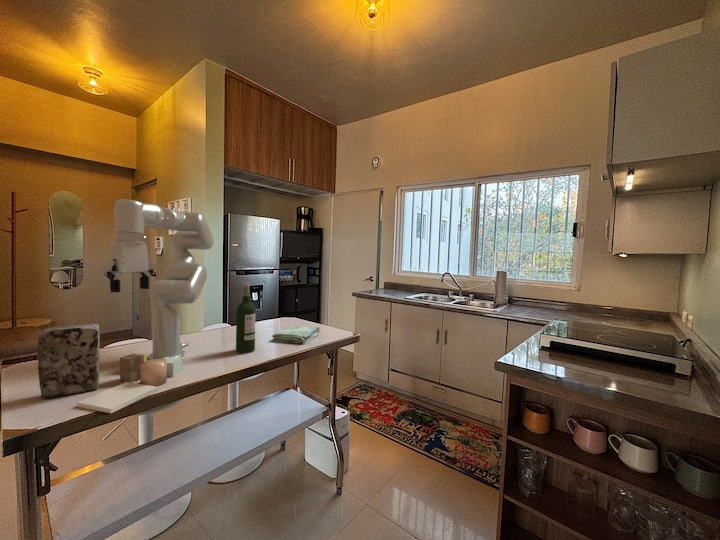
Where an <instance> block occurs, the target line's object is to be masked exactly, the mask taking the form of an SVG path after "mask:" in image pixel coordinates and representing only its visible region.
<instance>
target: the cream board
mask: <svg viewBox="0 0 720 540" xmlns="http://www.w3.org/2000/svg"><path fill="white" fill-rule="evenodd" d="M158 391H159V386H157V387H155V386H149V385H143V384H141V383H136V382H133V383H131V382H123V383H122V384H121V383H120V384H119V385H117V386H115V387H112V388H109V389H107V390H104V391H102V392H100V393H97V394H94V395H91V396H89V397H87V398H84V399H82V400H79V401H78V402H76V406H77V407H78V408H81V409H87V410H92V411H97V412H103V413H106V414H112V413H114V412H117V411H119V410H121V409H123V408H125V407H127V406H129V405H131V404H133V403H136V402H138V401H139V400H142V399H143V398H146V397H148V396H149V395H153V394H154V393H157V392H158Z"/></svg>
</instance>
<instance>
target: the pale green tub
mask: <svg viewBox="0 0 720 540" xmlns="http://www.w3.org/2000/svg"><path fill="white" fill-rule="evenodd" d="M163 359H166V360H167V378H169V377H170V378H174V377H176V376H177V375H178V374H180V373H181V372H183V371H184V356H182V357H165V358H163Z"/></svg>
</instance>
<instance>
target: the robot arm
mask: <svg viewBox="0 0 720 540" xmlns="http://www.w3.org/2000/svg"><path fill="white" fill-rule="evenodd" d="M113 215H114V230H115V231H114V234H115V236H114V239H115V240H114V241H113V242H112V243H111V246H110V251H109V260H108V262H105V263H103V264H101V265H100V270H101V271H102V272H103V275H104V276H105V277H107V280H109V288H110V292H111V293H120V292H121V279H119V278H120V277H121V276H122V275H123V274H139V275H140V277H139V288H140V289H143V290H149V291H148V292H149V298H150V303H151V310H152V322H151V323H152V325H151V326H152V330H151V331H152V353H150V354H148V355H147V360H151V359H163V358H165V357H184V355H185V351H184V350H183V348H186V347H188V346H189V345H190V343H189V341H185V342H183V343H182V342H181V311H180V310H179V308H178V306H177V305H178V304H181V305H183V304H184V305H185V304H194V303H196V301H197V300H198V299H199V296H200V295H201V293H202V290H203V288H204V286H205V283H206V281H207V276H208V270H207V268H206V266H205V265H203V264H202V263H197V262H196V259H195V257H194V255H193V254H192V253H191V252H190V251H189V250H201V251H202V250H204V251H205V250H210V249H212V247H213V245H214V237H213V236H214V235H212V230H211V229H210V227H209V224H208V221H207V220H206V218H205V217H204V215H203V214H202V213H200V212H194V211H193V212H192V211H180V210H176V209H172V208H170V207H169V208H168V207H162V206H159V205H158V204H154V203H148V202H146V203H144V202H141V201H139V200H134V199H126V198H125V199H124V198H120V199H117V200H116V201H115V202H114V209H113ZM145 228H152V229H158V230H159V229H161V230H167V231H176V232H175V233H174V234H173V235H172V249H173V252H174V256H173V259H172V260H171V262H170V264H169V265H168V266H167V268H166V270H165V271H164V272H165V273H164V275H163V276H164V279H160V280H156V281H154V282H153V283H152V284H150V278H151V277H152V274H153V273H154V271H155V268H156V266H157V265H156V264H155V263H154V262H151V261H150V260H149V254H148V253H149V252H148V247H147V243H145V241H146V240H147V236H146V235H145ZM176 304H177V305H176Z"/></svg>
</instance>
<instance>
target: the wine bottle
mask: <svg viewBox="0 0 720 540" xmlns="http://www.w3.org/2000/svg"><path fill="white" fill-rule="evenodd" d="M250 286H251V285H250V283H243V285H242V287H243V288H242V301H241V303H240V304H239V305H237V307H236V309H235V310H236V316H235V317H236V320H235V321H236V322H235V324H236V325H235V327H236V328H235V330H236V331H235V352H236V353H238V354H242V353H245V354H250V353H253V352H255V350H256V307H255V305H254V304H253V302H252V303H251V298H250V297H251V296H250V293H251V291H250V288H251V287H250Z"/></svg>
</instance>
